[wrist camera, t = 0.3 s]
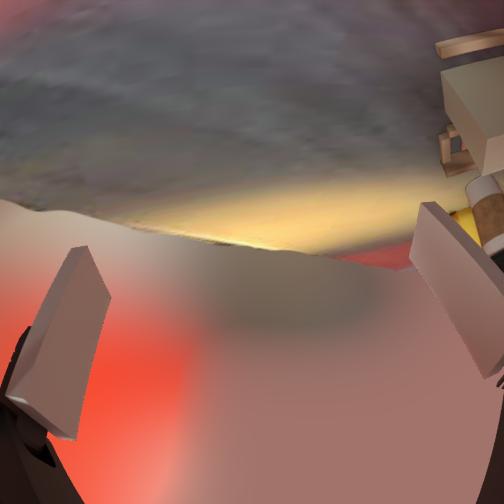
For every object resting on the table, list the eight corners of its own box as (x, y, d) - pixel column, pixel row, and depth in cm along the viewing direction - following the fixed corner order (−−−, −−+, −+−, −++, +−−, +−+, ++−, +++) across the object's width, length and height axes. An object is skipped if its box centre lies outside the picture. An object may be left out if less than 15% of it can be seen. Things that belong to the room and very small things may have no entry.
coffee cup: (488, 163, 35) (527, 257, 29) (505, 179, 38) (537, 261, 32) (450, 190, 42) (481, 280, 36) (471, 202, 45) (498, 281, 39)
